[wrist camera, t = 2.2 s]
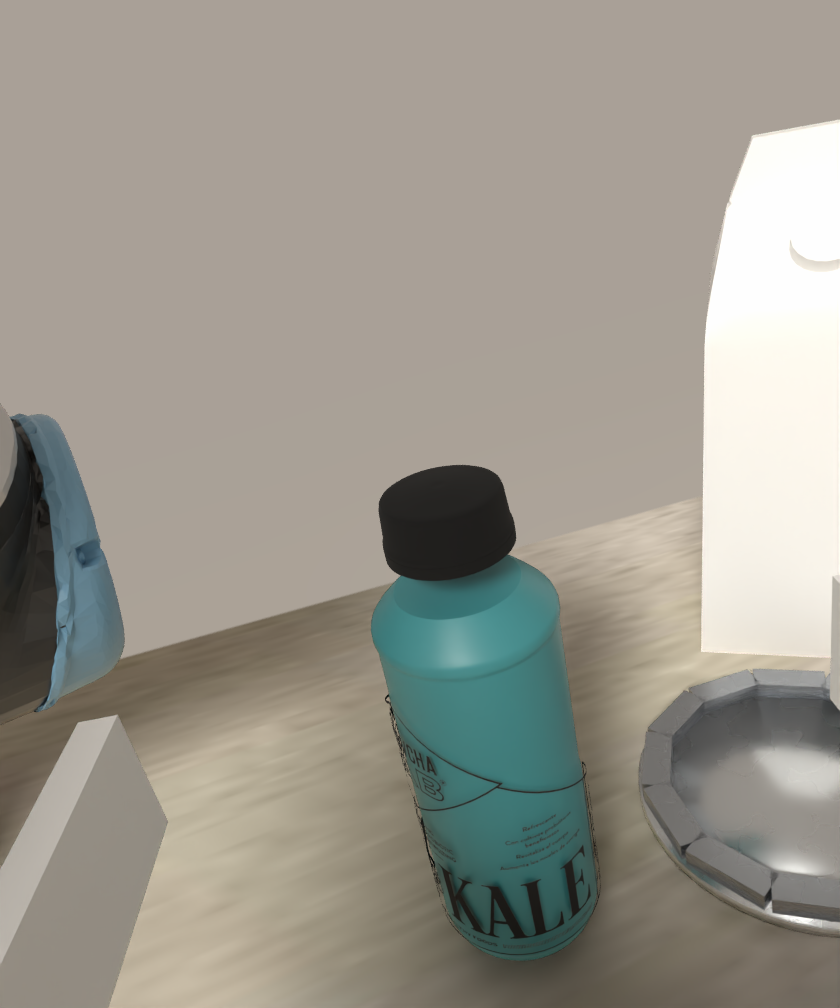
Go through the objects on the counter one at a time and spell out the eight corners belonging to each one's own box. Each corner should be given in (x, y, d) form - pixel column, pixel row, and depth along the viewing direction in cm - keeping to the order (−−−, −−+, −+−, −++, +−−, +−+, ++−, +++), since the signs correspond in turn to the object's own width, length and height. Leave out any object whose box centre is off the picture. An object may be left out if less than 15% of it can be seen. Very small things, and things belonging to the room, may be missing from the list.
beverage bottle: (517, 824, 37) (437, 428, 28) (641, 905, 32) (591, 458, 23) (416, 925, 33) (288, 507, 24) (539, 1034, 28) (434, 562, 20)
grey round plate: (628, 908, 32) (625, 886, 31) (647, 679, 43) (646, 661, 43) (1049, 968, 27) (1056, 944, 26) (944, 692, 38) (947, 671, 38)
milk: (908, 546, 50) (948, 89, 38) (950, 663, 40) (1019, 103, 29) (706, 546, 54) (688, 138, 43) (701, 651, 45) (676, 163, 33)
